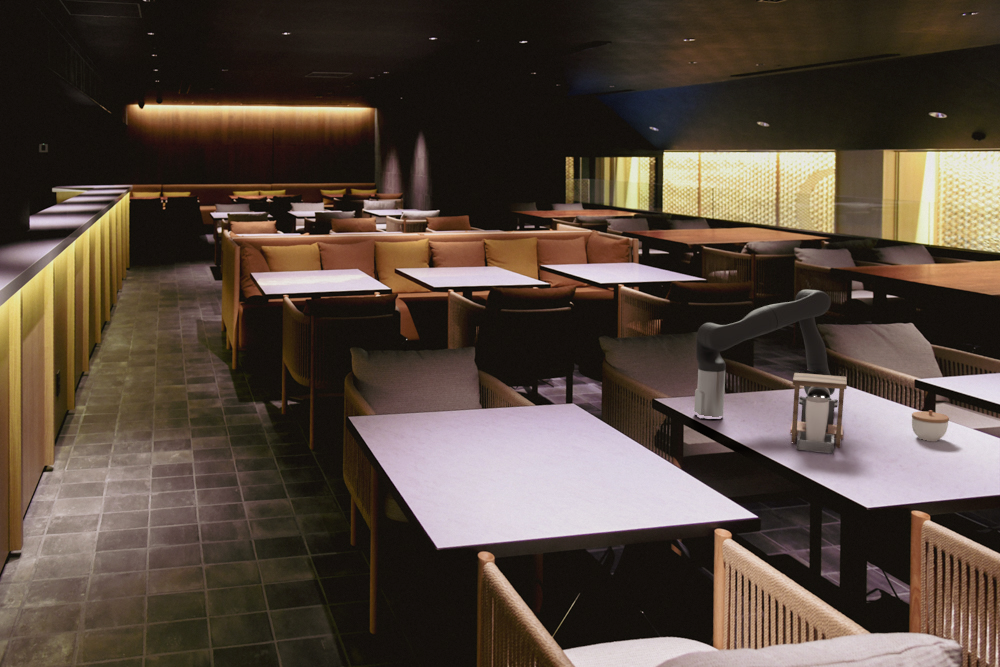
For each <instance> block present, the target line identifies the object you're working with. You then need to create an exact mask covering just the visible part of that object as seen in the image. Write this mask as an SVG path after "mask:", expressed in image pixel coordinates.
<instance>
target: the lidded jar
mask: <svg viewBox="0 0 1000 667" xmlns="http://www.w3.org/2000/svg"><path fill="white" fill-rule="evenodd" d="M949 421H950V417H949V416H948V415H947V414H943V413H940V412H935V411H934V410H931V409H930V410H928V411H924V410H923V411H921V410H920V411H914V412H912V413H911V428H912V431H913V433H914V434H915V435H916V436H917V439H919V438H920V439H919V440H921V439H923V440H922V441H925V440H927V441H926V442H938V441H937V440H940V439H941V438H943V437H944V436H945V434H946V433H947V430H948V427H949Z"/></svg>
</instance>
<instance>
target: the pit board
mask: <svg viewBox="0 0 1000 667" xmlns="http://www.w3.org/2000/svg"><path fill="white" fill-rule="evenodd" d="M789 430H790V433H792V423H791V425H790V429H789ZM836 430H837V424H833V425H829V424H827V426H826V432H825V434H832V435H834V439H835V438H836ZM843 430H844V426H843V424H842V427H841V440H844V439H843V438H844V437H843V435H844V434H843V433H844V431H843ZM798 431H802V432H806V422H801V420H797V434H798ZM790 433H789V434H790Z"/></svg>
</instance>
